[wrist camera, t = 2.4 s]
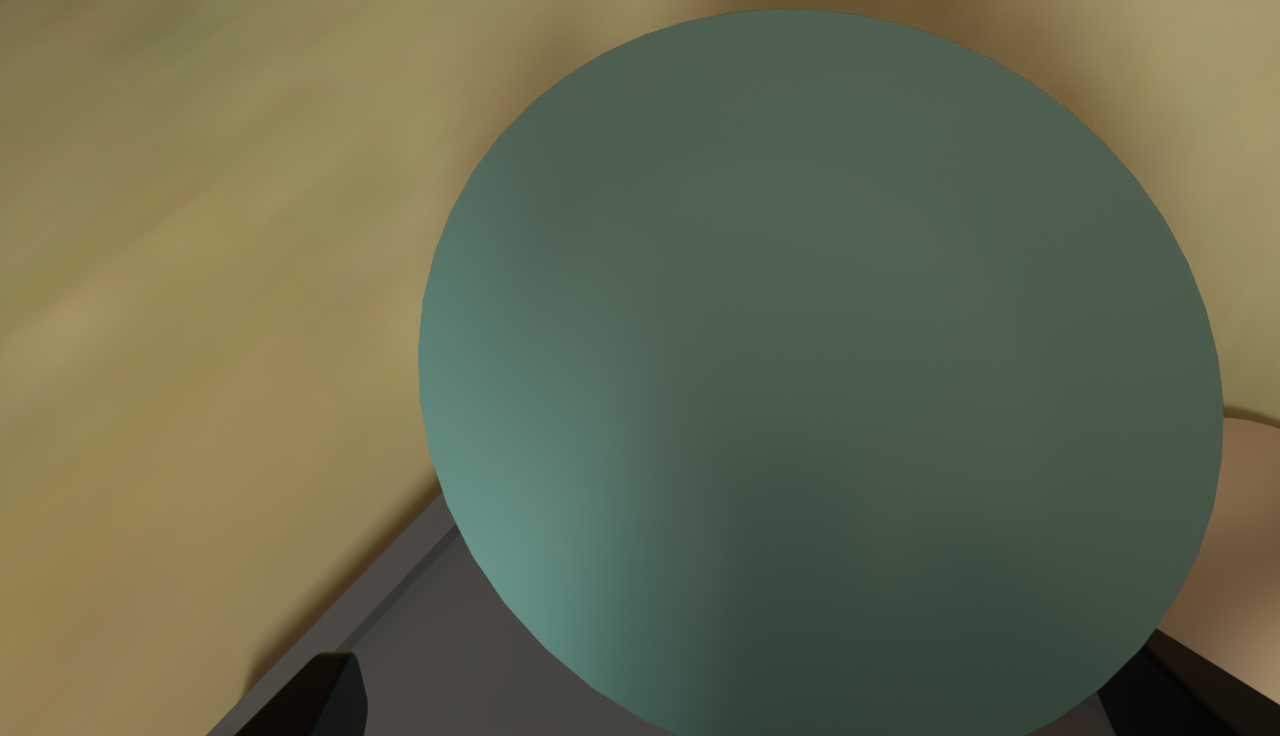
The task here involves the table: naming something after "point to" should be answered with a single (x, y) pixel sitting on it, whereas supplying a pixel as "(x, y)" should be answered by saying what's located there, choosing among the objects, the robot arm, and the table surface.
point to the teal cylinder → (820, 384)
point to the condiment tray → (471, 655)
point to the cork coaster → (1238, 565)
